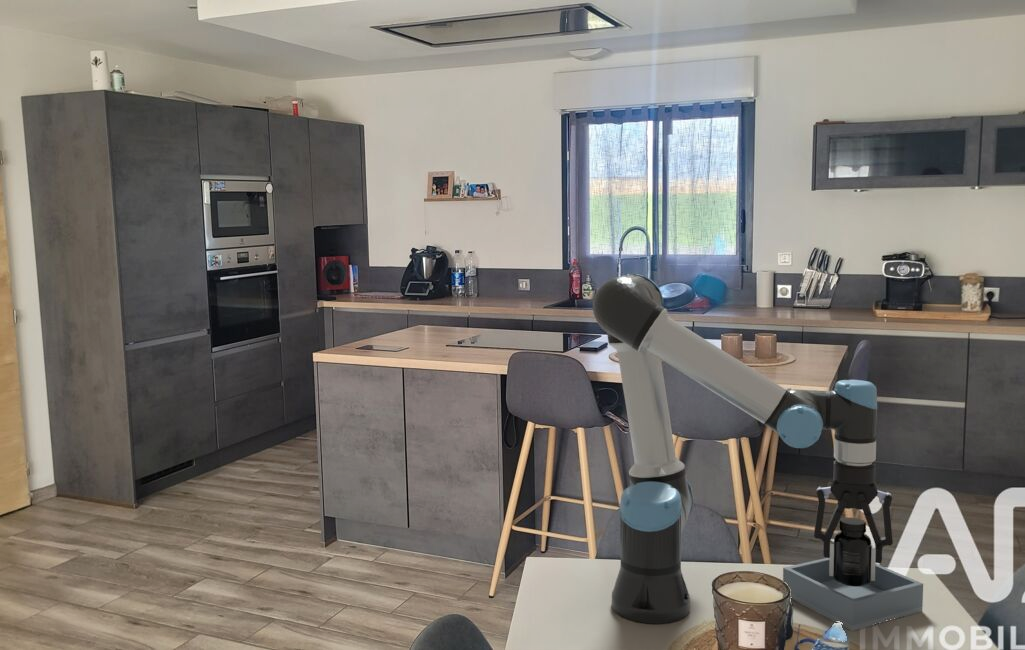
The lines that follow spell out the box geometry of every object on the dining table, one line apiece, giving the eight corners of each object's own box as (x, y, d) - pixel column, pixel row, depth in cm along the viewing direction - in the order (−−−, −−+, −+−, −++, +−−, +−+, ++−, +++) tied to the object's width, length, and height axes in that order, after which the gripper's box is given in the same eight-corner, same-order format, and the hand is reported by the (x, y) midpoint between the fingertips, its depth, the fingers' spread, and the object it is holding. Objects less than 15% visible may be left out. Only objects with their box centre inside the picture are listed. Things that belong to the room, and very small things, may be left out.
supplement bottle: (878, 582, 166) (879, 522, 165) (856, 590, 162) (857, 529, 161) (847, 570, 172) (848, 513, 170) (825, 578, 168) (826, 519, 167)
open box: (782, 594, 172) (783, 567, 171) (849, 577, 179) (849, 552, 179) (852, 631, 156) (853, 602, 155) (922, 611, 163) (923, 583, 163)
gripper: (908, 459, 165) (905, 574, 167) (801, 452, 171) (799, 562, 174) (912, 469, 158) (908, 589, 160) (799, 461, 164) (798, 576, 167)
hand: (851, 575), depth 167 cm, fingers closed on supplement bottle, 7 cm apart
